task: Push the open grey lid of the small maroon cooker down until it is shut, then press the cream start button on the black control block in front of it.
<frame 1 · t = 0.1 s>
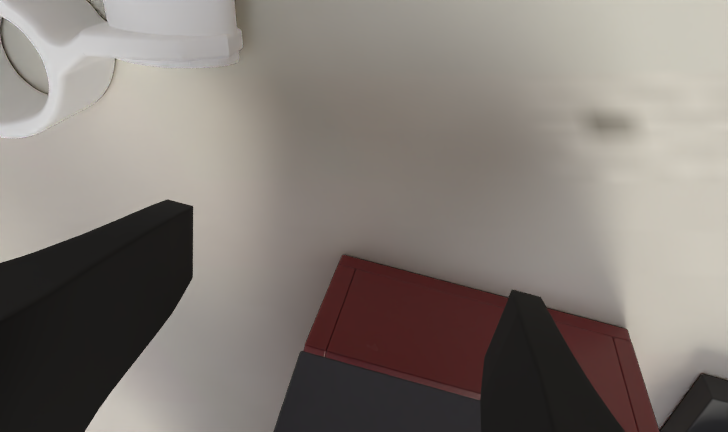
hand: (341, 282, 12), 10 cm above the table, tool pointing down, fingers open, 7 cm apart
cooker: (441, 400, 28), on the table
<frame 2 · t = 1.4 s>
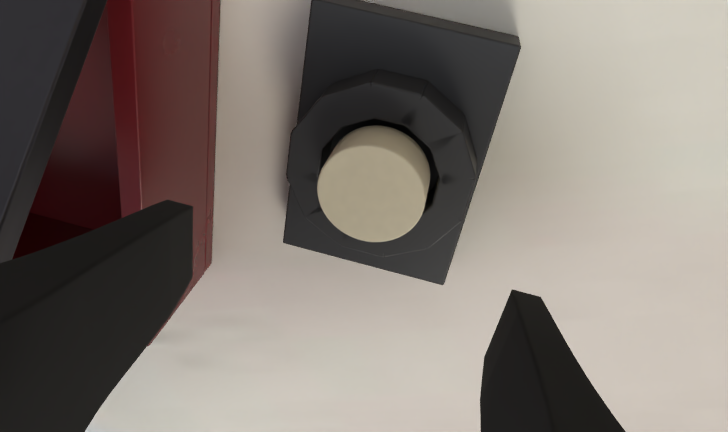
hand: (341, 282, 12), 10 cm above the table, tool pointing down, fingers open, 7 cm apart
start button: (374, 184, 19), point 4 cm above the table, slide at 0.1 cm
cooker: (75, 88, 23), on the table
control block: (390, 144, 22), on the table
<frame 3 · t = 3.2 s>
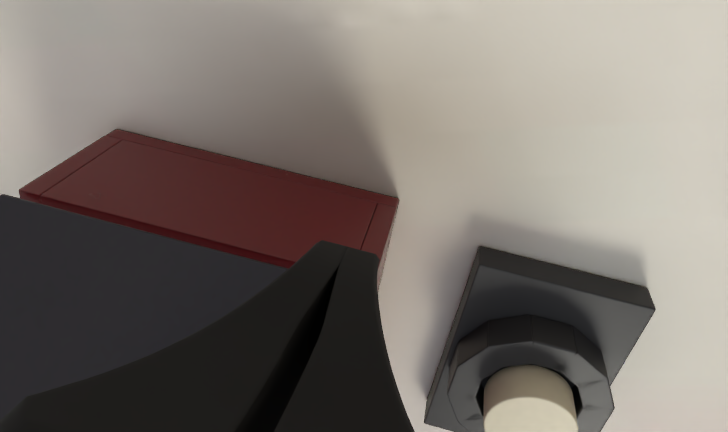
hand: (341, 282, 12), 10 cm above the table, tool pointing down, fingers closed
start button: (528, 411, 22), point 4 cm above the table, slide at 0.1 cm
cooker: (246, 293, 27), on the table
control block: (524, 351, 25), on the table
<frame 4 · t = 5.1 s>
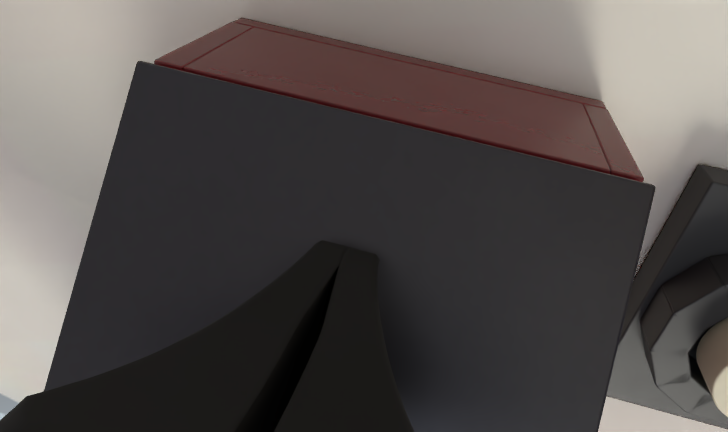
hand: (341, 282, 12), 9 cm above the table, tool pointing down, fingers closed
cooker: (377, 233, 22), on the table
control block: (727, 301, 21), on the table
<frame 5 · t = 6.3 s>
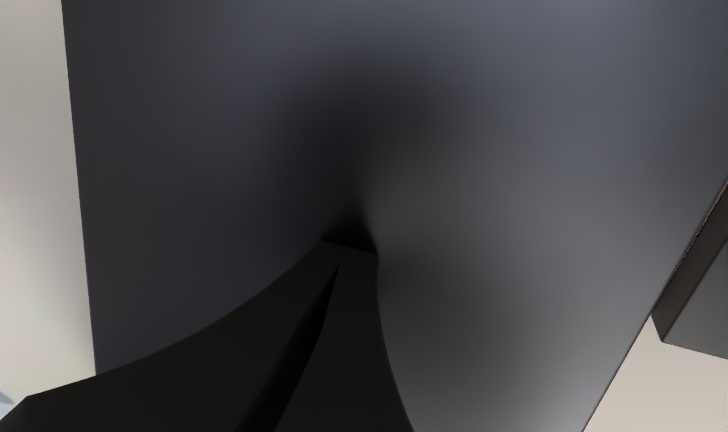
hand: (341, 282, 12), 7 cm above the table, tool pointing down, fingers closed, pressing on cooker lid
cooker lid: (346, 268, 12), point 7 cm above the table, hinge at 2.0°, touching gripper
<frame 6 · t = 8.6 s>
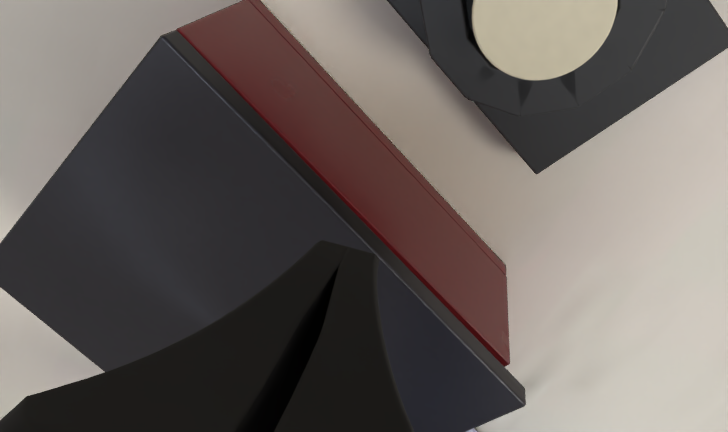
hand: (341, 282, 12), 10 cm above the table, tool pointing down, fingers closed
start button: (540, 6, 15), point 4 cm above the table, slide at 0.1 cm
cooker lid: (239, 326, 19), point 6 cm above the table, hinge at 1.2°
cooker: (288, 225, 25), on the table
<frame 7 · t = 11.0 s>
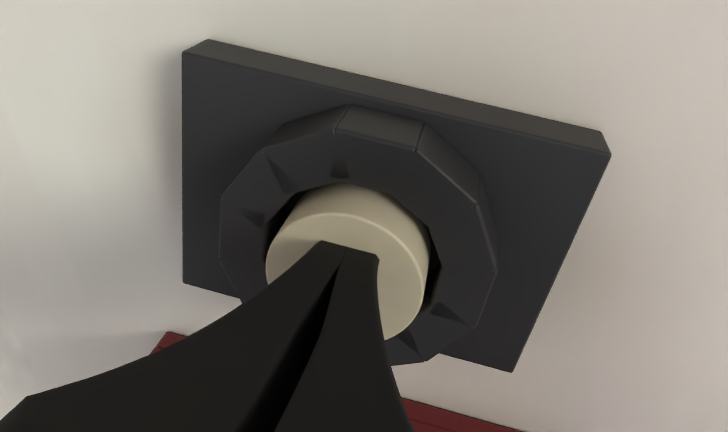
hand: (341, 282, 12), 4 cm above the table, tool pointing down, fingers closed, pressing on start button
start button: (350, 262, 13), point 3 cm above the table, slide at -0.5 cm, touching gripper
control block: (373, 203, 15), on the table
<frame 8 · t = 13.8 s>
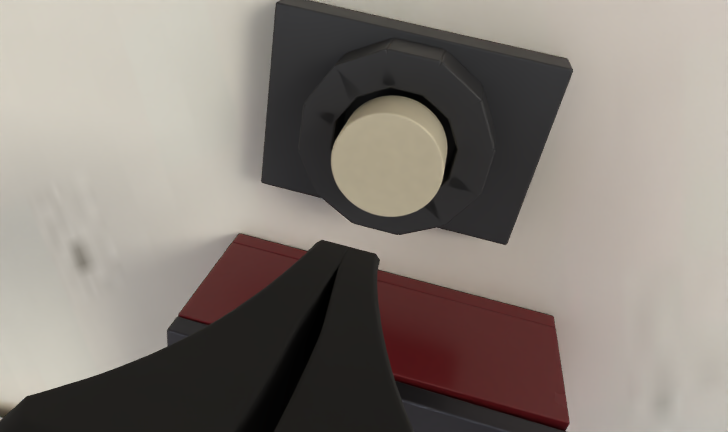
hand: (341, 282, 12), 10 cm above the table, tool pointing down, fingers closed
start button: (390, 156, 18), point 4 cm above the table, slide at 0.1 cm
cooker: (368, 369, 28), on the table
control block: (404, 119, 21), on the table
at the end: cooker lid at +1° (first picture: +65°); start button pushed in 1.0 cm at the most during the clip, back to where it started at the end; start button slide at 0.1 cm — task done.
